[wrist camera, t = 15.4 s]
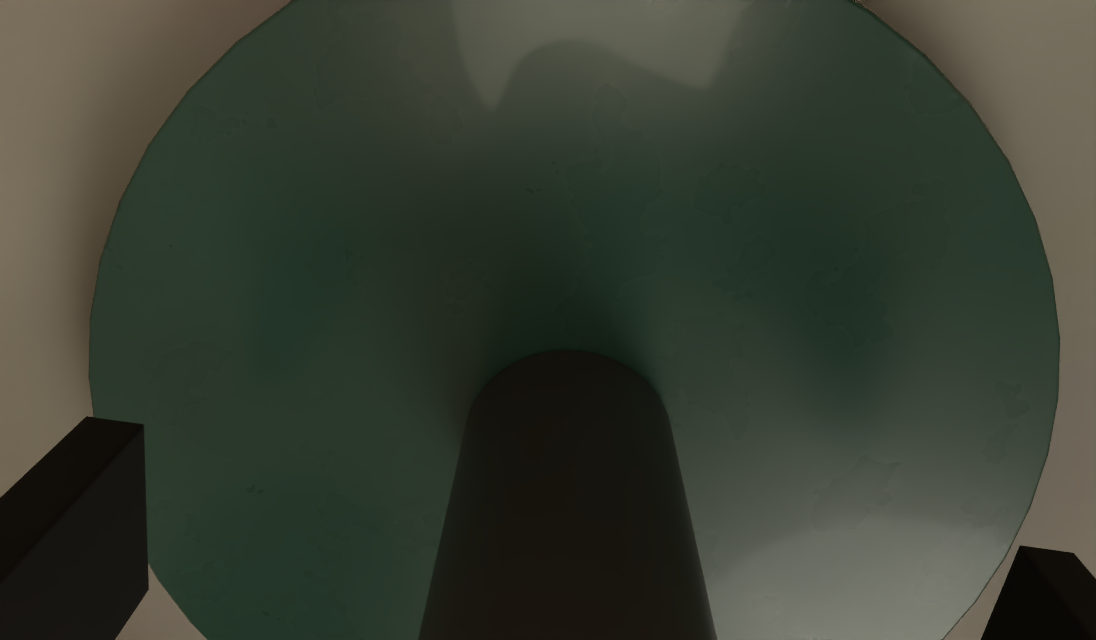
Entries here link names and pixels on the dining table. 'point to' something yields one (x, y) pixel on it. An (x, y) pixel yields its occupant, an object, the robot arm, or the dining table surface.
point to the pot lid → (577, 327)
